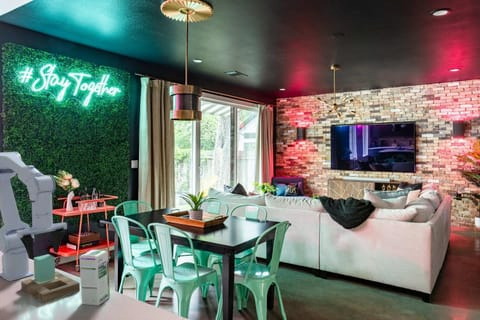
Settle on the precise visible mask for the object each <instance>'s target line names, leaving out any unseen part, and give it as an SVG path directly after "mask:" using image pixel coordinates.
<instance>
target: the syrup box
mask: <svg viewBox="0 0 480 320" xmlns="http://www.w3.org/2000/svg"><path fill="white" fill-rule="evenodd" d="M109 267H110V266H109V251H108V250H106V249H105V250H104V249H91V250H89V251H87V252H86V253H83V254H81V255H79V275H80V295H81V298H80V299H81V304H82V305H88V306H100V305H101V304H102V303H104V302H105V301H107V299H109V298H110V297H111V294H110V293H111V292H110V271H109Z"/></svg>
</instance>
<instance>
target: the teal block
mask: <svg viewBox="0 0 480 320" xmlns="http://www.w3.org/2000/svg"><path fill="white" fill-rule="evenodd" d="M55 260H56V259H55V256H54V255H51V254H48V253H47V254H44V255H40V256H35V257H33V271H34V272H33V273H34V275H33V276H34V277H33V278H34V279H35V280H37V281H39V282H44V281H47V280H51V279H54V278H55V272H56V262H55Z"/></svg>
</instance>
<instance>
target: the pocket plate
mask: <svg viewBox="0 0 480 320" xmlns="http://www.w3.org/2000/svg"><path fill="white" fill-rule="evenodd" d="M20 284H21V285H20V287H21V288H20V289H21V290H22V291H24V292H25V293H26V294H28V295H30V296H31V297H32V298H34V299H35V300H37V301H38V302H40V303H42V304H44V303H47V302H50V301H55V300H57V299H60V298H63V297H65V296H68V295H71V294H75V293H78V292H81V282H78V281H77V280H74V279H73V278H70V277H69V276H66V275H65V274H63V273H60V272H59V271H56V270H55V278H54V279H51V280H47V281H44V282H39V281H37V280H35V279H34V277H32V278H28V279H24V280H21V281H20Z"/></svg>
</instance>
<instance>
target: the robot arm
mask: <svg viewBox="0 0 480 320" xmlns="http://www.w3.org/2000/svg"><path fill="white" fill-rule="evenodd" d="M16 175H17V178H18V180H20V181H21V182H22V183H23V184H24V185H25V186H26V189H27V192H28V195H29V200H30V201H31V218H32V219H31V221H32V223H31V224H32V226H31V227H30V225H29V224H28V223H26V222H23V221H22V220H21V218H20V214H19V211H18V207H17V206H18V205H17V202H16V199H15V195H14V191H13V188H12V183H11V179H12V178H13V177H15V176H16ZM55 190H56V180H55V178H54V177H53V176H52V174H47V175H46V174H43V173H41V171H39V170H38V169H37V168H35V166H34V165H31V164H30V165H26V164H25V162H23V161H22V156H21V154H20V153H19V152H18V151H12V152H11V151H10V152H8V151H7V152H5V151H4V152H0V214H1V218H2V221H3V226H2V227H1V228H0V252H1V253H2V256H1V273H0V277H2V278H3V279H4V280H6V281H8V282H12V281H15V280H19V279H23V278H27V277H30V276H34V272H32V271H31V270H30V260H34V242H35V235H40V234H45V233H49V232H51V236H52V250H53V253H56V254H57V253H59V249H60V246H61V243H62V240H63V239H64V236H65V235H66V230H67V229H68V223H67V222H58V223H53V222H54V220H53V193H54V192H55Z"/></svg>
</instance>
